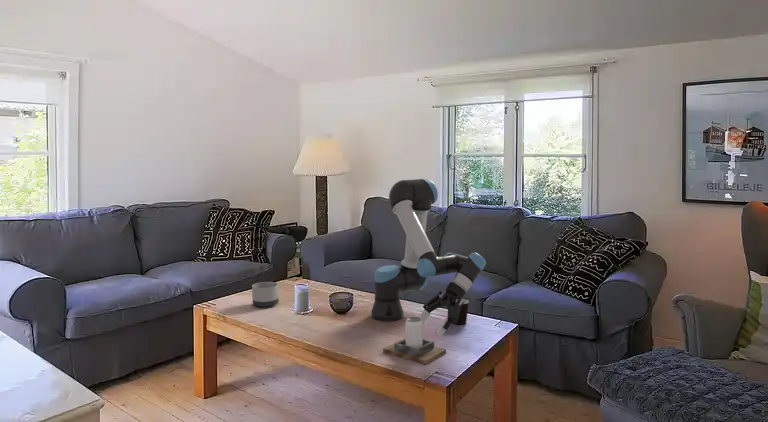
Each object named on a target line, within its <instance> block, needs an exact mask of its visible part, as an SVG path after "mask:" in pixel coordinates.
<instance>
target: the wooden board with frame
mask: <svg viewBox="0 0 768 422" xmlns="http://www.w3.org/2000/svg"><path fill="white" fill-rule="evenodd" d="M382 353H385V354H388V355H391V356H394V357H398V358H401V359H405V360H409V361H412V362H416V363H418V364H419V363H420V364H423V365H428V364H429V363H431V362H433V361H435V360H437V359H439V358H440V357H442V356H444V355H445V354H447V349H446V348H443V347H440V346H435V341H433V340H430V339H427V338H422V347H420V348H418V349H417V348H413V347H409V346H406V337H405V338H402V339H400V340H398V341H396V342H394V343H392V344H390V345H387V346H386V347H383V348H382Z"/></svg>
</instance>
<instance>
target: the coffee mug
mask: <svg viewBox="0 0 768 422" xmlns="http://www.w3.org/2000/svg"><path fill="white" fill-rule="evenodd" d="M461 300H462V301H463V302H464V303H463V305H462V307H461V310H460V314H459V318H458V321H457V323H456V324H455V323H452V324H451V325H453V326H454V325H455V326H464V325H467V319H468V318H467V317H468V310H469V305H470V304H469V303H470V302H469V300H468V299H465V298H462V299H461Z"/></svg>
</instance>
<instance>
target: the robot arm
mask: <svg viewBox="0 0 768 422" xmlns="http://www.w3.org/2000/svg"><path fill="white" fill-rule="evenodd" d="M438 195H439V193H438V189H437V186H436V184H435V182H433V181H432V180H431V179H428V178H426V179H425V178H417V179H402V180H399V181H397V182H395V183H394V184H393V185H392V187H391V188H390V190H389V195H388V202H389V207H390V209H391V211H392V213H393V214H394V215H396V216H397V219H398V220H399V222H400V224H401V226H402V228H403V230H404V233H405V235H406V241H405V248H404V249H405V251H404V258H403V259H402V260H401V261H400V266H398V265H395V264H390V265H389V264H388V265H383V266H380V267H378V268H377V269H376V270H375V271H374V277H373V280H374V302H373V305H372V309H371V312H370V313H371V314H370V315H371V318H372V319H373V320H375V321H379V322H394V321H399V320H401V319H403V318H404V309H403V305H402V303H401V300H400V299H401V298H400V297H401V293H406V292H411V291H412V292H413V291H418V290H422V289H424V288H425V287H427V285H428V284H429V279H430V278H432V277H436V276H440V275H447V274H448V275H449V274H455V273H456V274H455V275H454V277H453V278H452V279H451V281H450V282H449V284H448V285H447V286H446V287H445V293H444V292H443V291H441V290H440V291H438V293H437V294H436V295H435V296H434V297H432V298H430V299H429V300H428V301H427V302H426V303H425V304H423V305H422V308H423V309H424V310H423V311H422V313H421V314H420V316H419V318H421V321H422V326H423V325H424V324H425V322H426V321H427V320H428V318H429V317H430V316H431V312H433V311H436V310H438V309H439V308H441V307H447V318H445V319H444V321H443V322H442V323H441V325H440V326H439V328H437V330H436V332H435V334H436V335H438V336H439V338H442V336H443V335H444V334H445V332H446V331H447V330H448V329H449V327H450V326H451V325H453V324H452V323H455V324H456V323H457V321H458V318H459V314H460V310H461V307H462V305H463V303H464V302H463V301H462V300H461V299H464V296H465V295H466V292H468V291H469V289H470V287H472V285H473V283H474V282H475V281H476V279H478V277H479V275H480V274H481V272H483V269H484V268H485V266H486V265H487V262H486V259H485V258H484V257H483V256H482V255H480V254H479V253H477V252H471V253H470V254H469V255H468V256H465V255H462V254H458V253H455V252H447V253H446V254H444V255H441V256H437V254H436V251H435V249H434V247H433V246H432V243H431V242H430V240H429V237H428V236H427V234H426V230H427V229H426V228H427V222H428V221H427V220H428V212H430V211H431V210H432V205H433V204H435V203H436V202H437V201H438Z"/></svg>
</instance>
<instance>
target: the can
mask: <svg viewBox="0 0 768 422" xmlns="http://www.w3.org/2000/svg"><path fill="white" fill-rule="evenodd" d="M405 338H406V346H409V347H413V348H417V349H418V348H420V347H422V339H423V325H422V321H421V318H420V317H418V316H411V317H407V318H406V322H405Z"/></svg>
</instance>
